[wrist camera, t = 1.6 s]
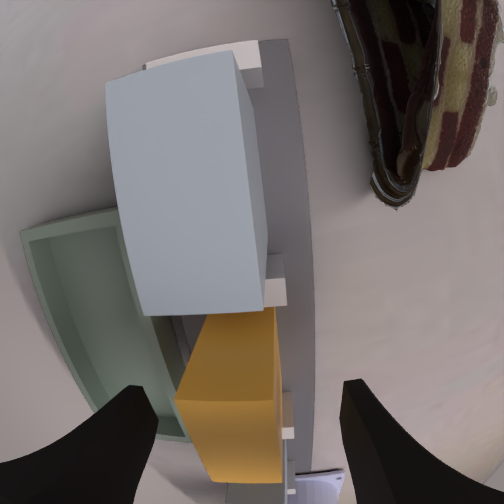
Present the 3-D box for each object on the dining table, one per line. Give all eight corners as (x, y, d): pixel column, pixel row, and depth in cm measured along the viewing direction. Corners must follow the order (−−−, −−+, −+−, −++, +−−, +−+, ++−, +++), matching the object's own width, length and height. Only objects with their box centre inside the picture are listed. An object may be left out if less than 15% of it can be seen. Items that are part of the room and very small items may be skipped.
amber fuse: (281, 381, 14) (282, 482, 8) (231, 383, 14) (212, 481, 8) (274, 295, 12) (273, 399, 6) (213, 299, 12) (173, 399, 7)
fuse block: (310, 461, 17) (312, 497, 14) (232, 464, 18) (228, 499, 15) (286, 47, 10) (291, 10, 7) (151, 71, 10) (114, 47, 7)
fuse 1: (267, 235, 11) (263, 310, 6) (203, 241, 12) (144, 315, 6) (253, 107, 10) (232, 49, 4) (186, 118, 10) (104, 83, 4)
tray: (203, 420, 16) (197, 443, 14) (114, 410, 17) (104, 428, 15) (145, 201, 12) (124, 208, 10) (42, 222, 13) (19, 231, 11)
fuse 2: (287, 455, 16) (287, 529, 10) (249, 456, 16) (241, 529, 10) (284, 413, 14) (284, 504, 9) (238, 414, 15) (225, 503, 9)
